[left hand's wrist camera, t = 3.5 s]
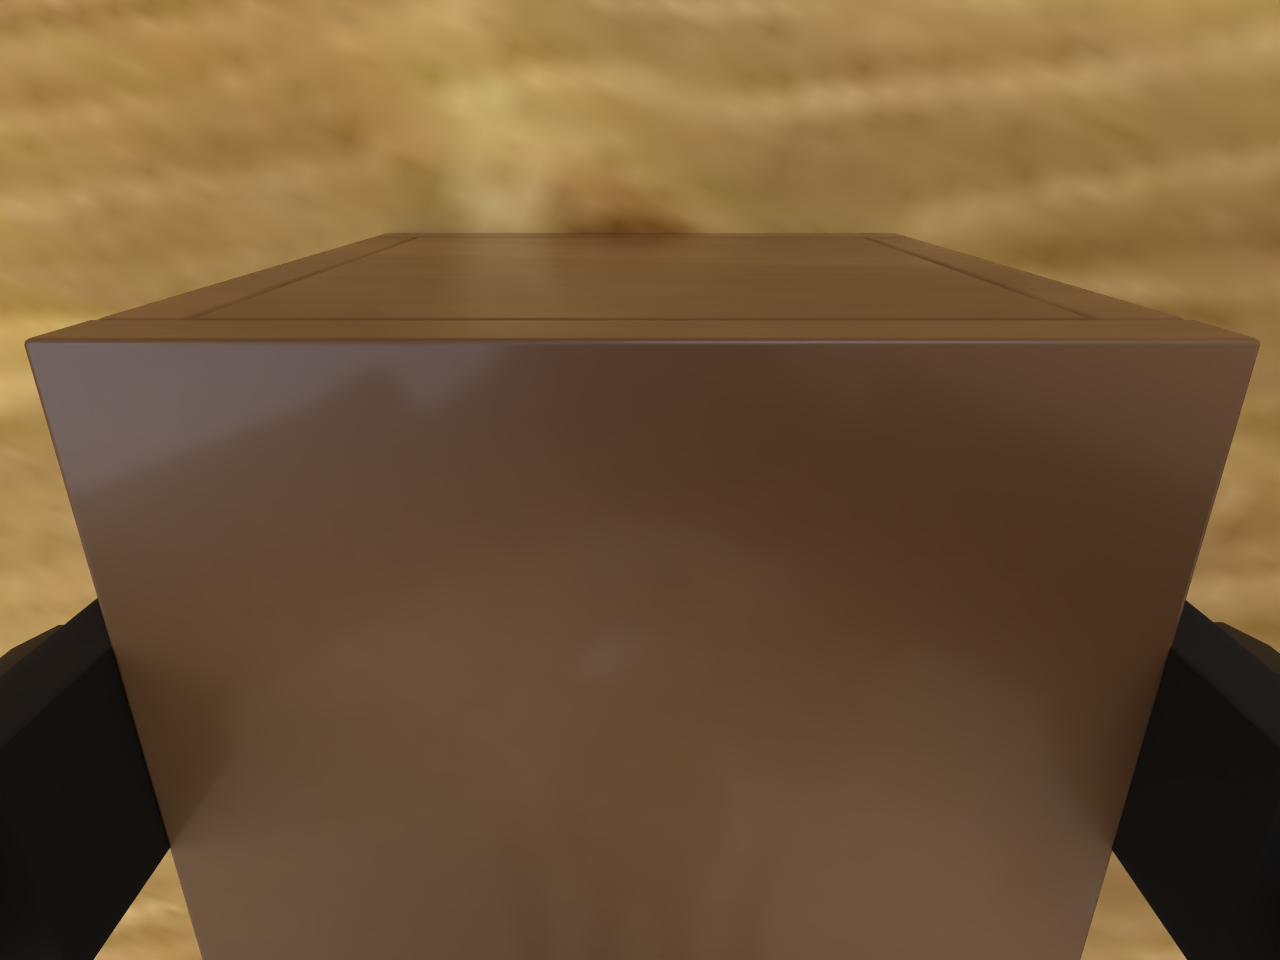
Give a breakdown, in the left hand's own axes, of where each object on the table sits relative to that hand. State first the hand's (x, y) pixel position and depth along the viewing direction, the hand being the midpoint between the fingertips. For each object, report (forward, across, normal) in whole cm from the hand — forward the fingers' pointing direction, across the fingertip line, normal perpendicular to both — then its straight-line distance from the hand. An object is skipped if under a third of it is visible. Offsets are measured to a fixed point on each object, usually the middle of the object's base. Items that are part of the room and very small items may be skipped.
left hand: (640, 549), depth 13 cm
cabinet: (+6, 0, -6) cm, 8 cm away
